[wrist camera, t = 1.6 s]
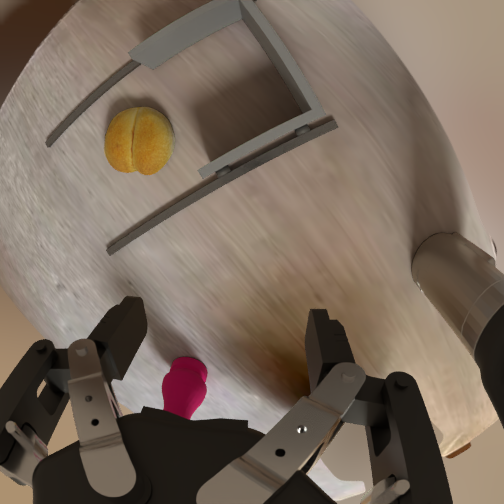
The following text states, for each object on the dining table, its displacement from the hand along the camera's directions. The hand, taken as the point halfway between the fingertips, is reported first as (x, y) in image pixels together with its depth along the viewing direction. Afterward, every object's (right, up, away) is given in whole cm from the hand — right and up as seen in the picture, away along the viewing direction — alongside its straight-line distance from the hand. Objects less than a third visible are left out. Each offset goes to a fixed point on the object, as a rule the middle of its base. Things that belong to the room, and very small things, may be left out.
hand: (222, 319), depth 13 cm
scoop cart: (-2, +22, +15) cm, 26 cm away
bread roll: (-12, +17, +18) cm, 28 cm away
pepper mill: (-9, -17, +32) cm, 37 cm away
